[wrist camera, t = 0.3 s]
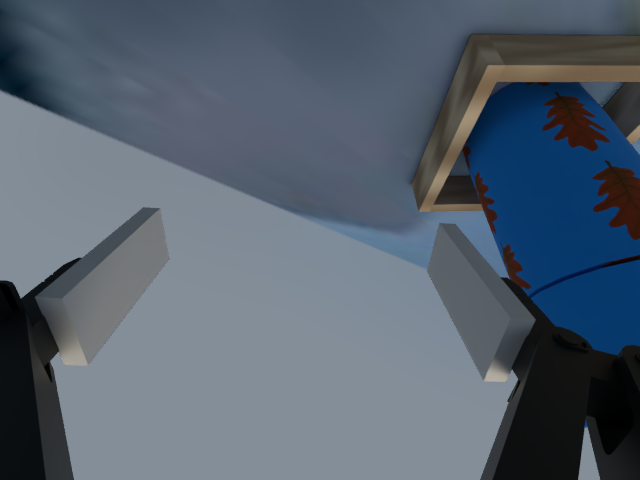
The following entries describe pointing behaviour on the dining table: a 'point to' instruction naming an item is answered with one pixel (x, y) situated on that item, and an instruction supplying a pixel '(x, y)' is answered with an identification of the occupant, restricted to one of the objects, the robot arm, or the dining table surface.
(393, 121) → the dining table surface
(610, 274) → the thermos
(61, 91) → the dining table surface
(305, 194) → the dining table surface
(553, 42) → the square frame
